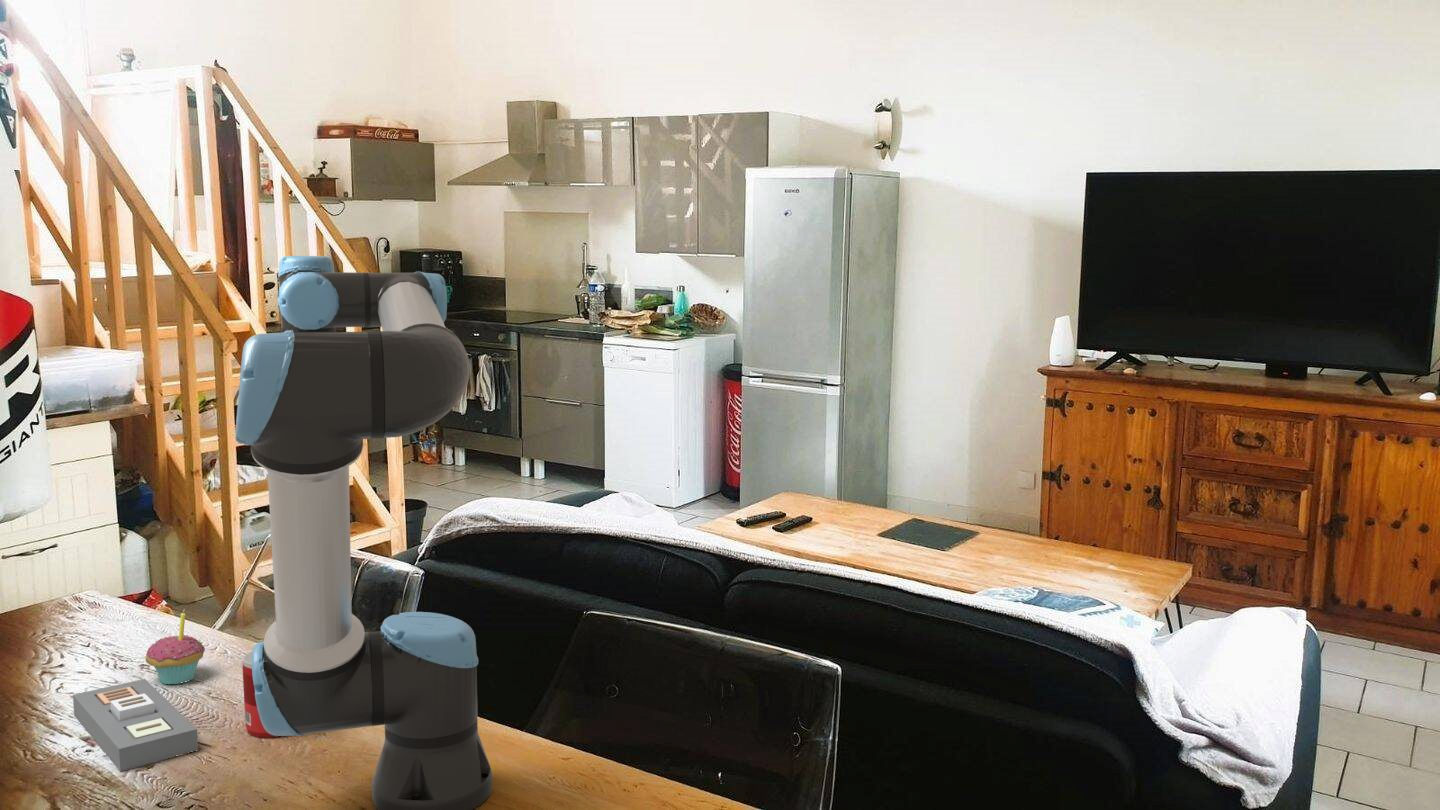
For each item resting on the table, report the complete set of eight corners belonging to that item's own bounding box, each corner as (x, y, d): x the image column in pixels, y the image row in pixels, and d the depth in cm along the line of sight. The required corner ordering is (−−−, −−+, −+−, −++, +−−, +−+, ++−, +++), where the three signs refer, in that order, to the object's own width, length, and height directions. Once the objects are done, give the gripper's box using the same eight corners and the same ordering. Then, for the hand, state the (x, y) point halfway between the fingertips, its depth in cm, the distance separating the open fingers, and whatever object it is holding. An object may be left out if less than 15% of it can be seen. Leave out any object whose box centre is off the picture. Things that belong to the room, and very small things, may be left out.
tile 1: (172, 743, 163) (171, 727, 163) (136, 752, 160) (135, 736, 160) (161, 732, 167) (161, 717, 166) (126, 741, 164) (125, 725, 163)
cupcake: (216, 672, 192) (213, 601, 191) (184, 692, 184) (180, 618, 182) (169, 668, 194) (165, 598, 192) (135, 687, 185) (130, 614, 184)
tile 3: (140, 709, 174) (139, 694, 174) (106, 718, 171) (105, 702, 171) (130, 700, 178) (130, 685, 177) (97, 708, 175) (96, 693, 174)
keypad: (198, 750, 164) (197, 729, 163) (120, 771, 157) (118, 749, 156) (146, 698, 181) (144, 678, 181) (74, 715, 175) (72, 694, 174)
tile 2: (155, 717, 169) (154, 701, 168) (120, 726, 166) (119, 710, 165) (145, 707, 172) (144, 692, 172) (111, 715, 169) (110, 700, 169)
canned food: (284, 741, 167) (281, 667, 165) (233, 735, 169) (230, 662, 167) (313, 720, 174) (310, 649, 173) (264, 714, 176) (261, 644, 174)
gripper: (266, 360, 173) (273, 516, 176) (302, 368, 163) (308, 533, 167) (316, 357, 178) (321, 509, 181) (353, 365, 168) (358, 525, 172)
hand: (315, 520), depth 174 cm, fingers closed
